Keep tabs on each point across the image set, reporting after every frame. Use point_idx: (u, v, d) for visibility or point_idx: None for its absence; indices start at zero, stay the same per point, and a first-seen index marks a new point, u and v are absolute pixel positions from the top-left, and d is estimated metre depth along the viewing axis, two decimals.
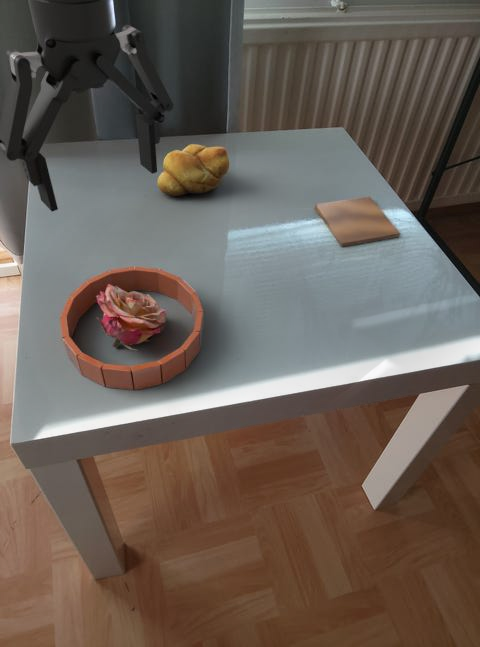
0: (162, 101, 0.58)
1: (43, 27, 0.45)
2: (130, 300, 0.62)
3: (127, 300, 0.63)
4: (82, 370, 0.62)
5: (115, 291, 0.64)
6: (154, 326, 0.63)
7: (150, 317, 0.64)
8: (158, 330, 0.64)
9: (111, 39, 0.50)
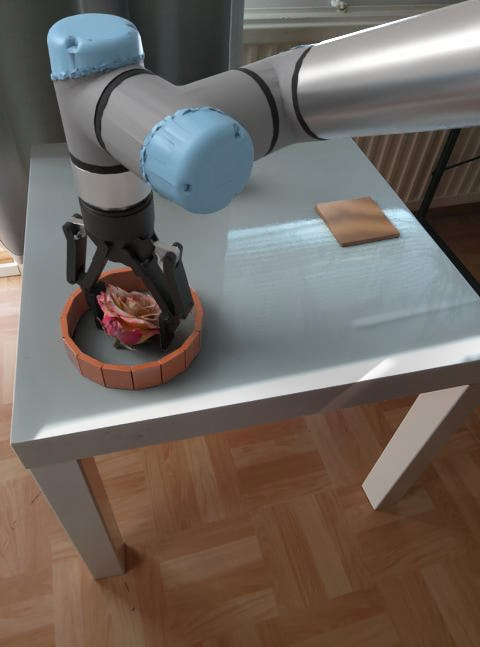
0: (176, 308, 0.60)
1: None
2: (130, 300, 0.62)
3: (127, 300, 0.63)
4: (82, 370, 0.62)
5: (116, 291, 0.64)
6: (154, 326, 0.63)
7: (150, 317, 0.64)
8: (158, 330, 0.64)
9: (141, 242, 0.54)
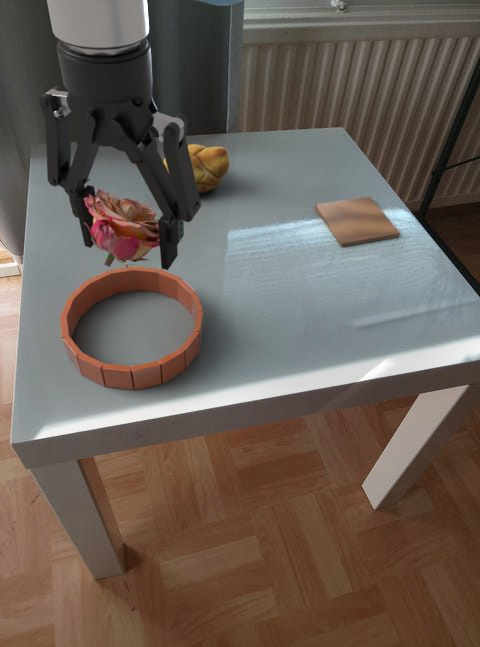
0: (179, 206, 0.49)
1: None
2: (124, 203, 0.52)
3: (121, 204, 0.53)
4: (82, 370, 0.62)
5: (107, 195, 0.53)
6: (153, 235, 0.52)
7: None
8: (158, 242, 0.54)
9: (136, 110, 0.43)
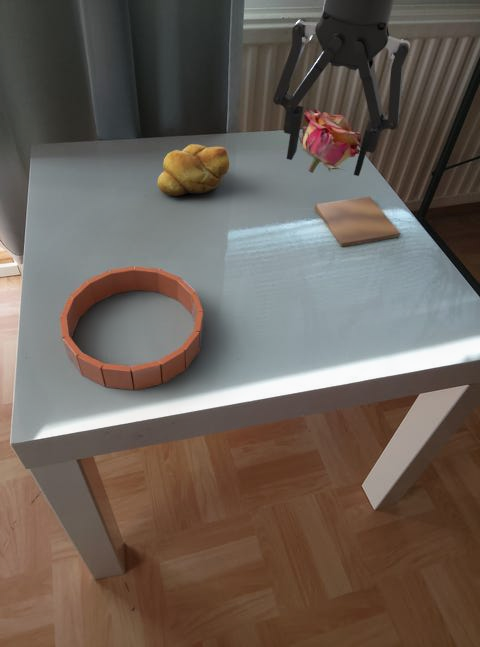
0: (389, 116, 0.63)
1: (325, 1, 0.56)
2: (337, 116, 0.65)
3: (332, 118, 0.66)
4: (82, 370, 0.62)
5: (317, 112, 0.67)
6: (358, 142, 0.66)
7: None
8: (358, 150, 0.67)
9: (378, 33, 0.57)
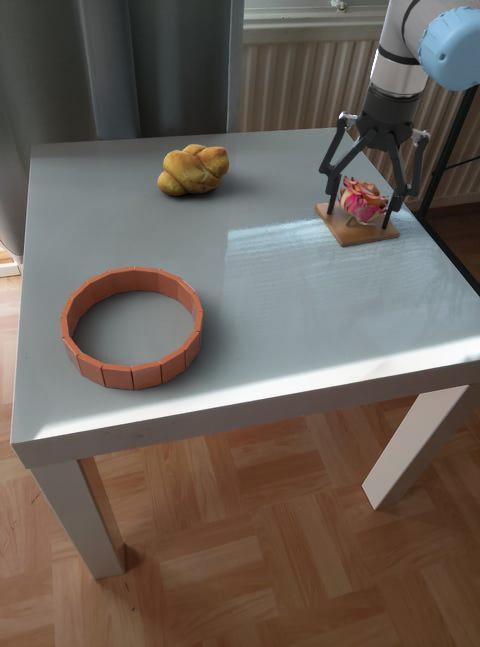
0: (412, 186, 0.79)
1: (364, 103, 0.72)
2: (370, 184, 0.81)
3: (365, 185, 0.82)
4: (82, 370, 0.62)
5: (353, 179, 0.83)
6: (386, 205, 0.82)
7: None
8: (386, 210, 0.83)
9: (405, 127, 0.73)
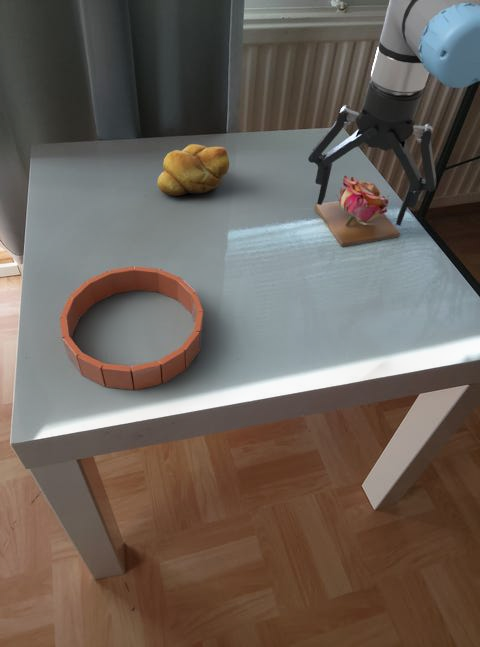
0: (426, 182, 0.77)
1: (364, 101, 0.72)
2: (370, 184, 0.81)
3: (365, 185, 0.82)
4: (82, 370, 0.62)
5: (353, 179, 0.83)
6: (386, 205, 0.82)
7: None
8: (386, 210, 0.83)
9: (406, 126, 0.73)
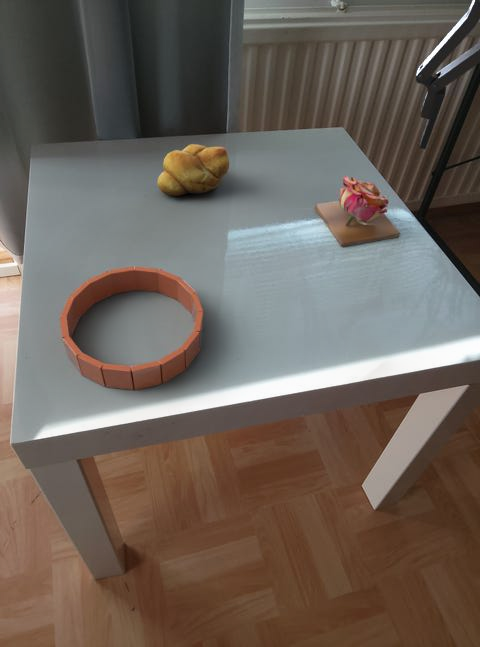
0: None
1: None
2: (370, 184, 0.81)
3: (365, 185, 0.82)
4: (82, 370, 0.62)
5: (353, 179, 0.83)
6: (386, 205, 0.82)
7: None
8: (386, 210, 0.83)
9: None
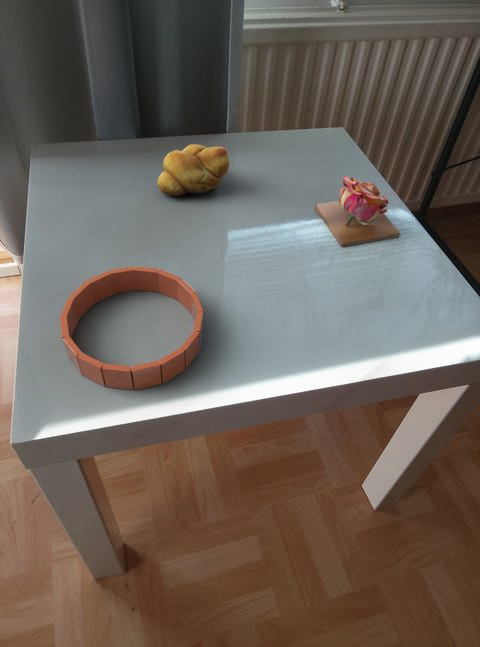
0: None
1: None
2: (370, 184, 0.81)
3: (365, 185, 0.82)
4: (82, 370, 0.62)
5: (353, 179, 0.83)
6: (386, 205, 0.82)
7: None
8: (386, 210, 0.83)
9: None
